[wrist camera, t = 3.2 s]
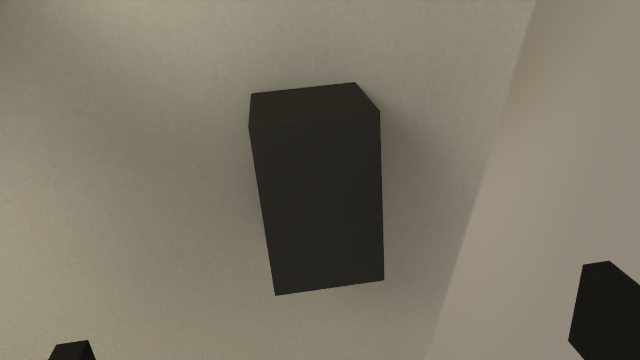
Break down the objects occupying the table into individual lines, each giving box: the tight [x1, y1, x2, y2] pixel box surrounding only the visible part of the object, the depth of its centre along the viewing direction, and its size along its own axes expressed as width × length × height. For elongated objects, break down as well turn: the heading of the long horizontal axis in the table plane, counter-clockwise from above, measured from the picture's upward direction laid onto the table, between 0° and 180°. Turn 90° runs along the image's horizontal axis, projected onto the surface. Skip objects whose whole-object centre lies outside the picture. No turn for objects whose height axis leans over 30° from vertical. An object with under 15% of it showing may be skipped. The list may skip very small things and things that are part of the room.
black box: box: [248, 82, 384, 296], centre depth 21 cm, size 5×8×5 cm, turn 5°
